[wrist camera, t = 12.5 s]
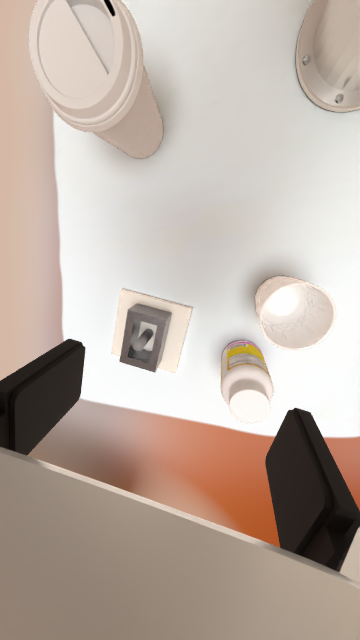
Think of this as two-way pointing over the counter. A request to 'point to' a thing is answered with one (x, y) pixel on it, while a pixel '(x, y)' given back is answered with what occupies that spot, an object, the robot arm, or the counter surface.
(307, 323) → the white cup
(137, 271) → the counter surface
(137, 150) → the coffee cup
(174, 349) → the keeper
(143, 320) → the link
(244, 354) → the supplement bottle
